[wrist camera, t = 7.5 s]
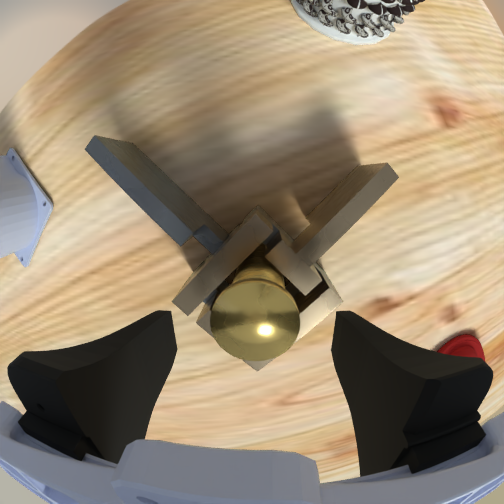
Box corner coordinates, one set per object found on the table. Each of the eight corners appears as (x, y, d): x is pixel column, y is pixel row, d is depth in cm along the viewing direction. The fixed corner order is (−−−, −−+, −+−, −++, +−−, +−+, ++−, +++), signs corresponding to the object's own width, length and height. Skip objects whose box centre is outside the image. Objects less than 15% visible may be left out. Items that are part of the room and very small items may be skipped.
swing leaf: (259, 331, 20) (257, 371, 15) (192, 273, 19) (171, 301, 14) (391, 206, 17) (426, 216, 13) (328, 135, 16) (350, 120, 12)
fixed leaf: (325, 271, 19) (343, 301, 14) (259, 330, 20) (257, 371, 15) (157, 113, 16) (124, 95, 12) (103, 183, 18) (62, 187, 13)
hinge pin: (224, 263, 19) (192, 323, 11) (260, 226, 18) (253, 263, 10) (261, 297, 20) (255, 374, 11) (297, 263, 19) (318, 324, 10)
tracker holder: (463, 320, 19) (504, 362, 17) (440, 314, 23) (483, 353, 22) (387, 428, 19) (440, 452, 17) (374, 408, 23) (425, 435, 22)
